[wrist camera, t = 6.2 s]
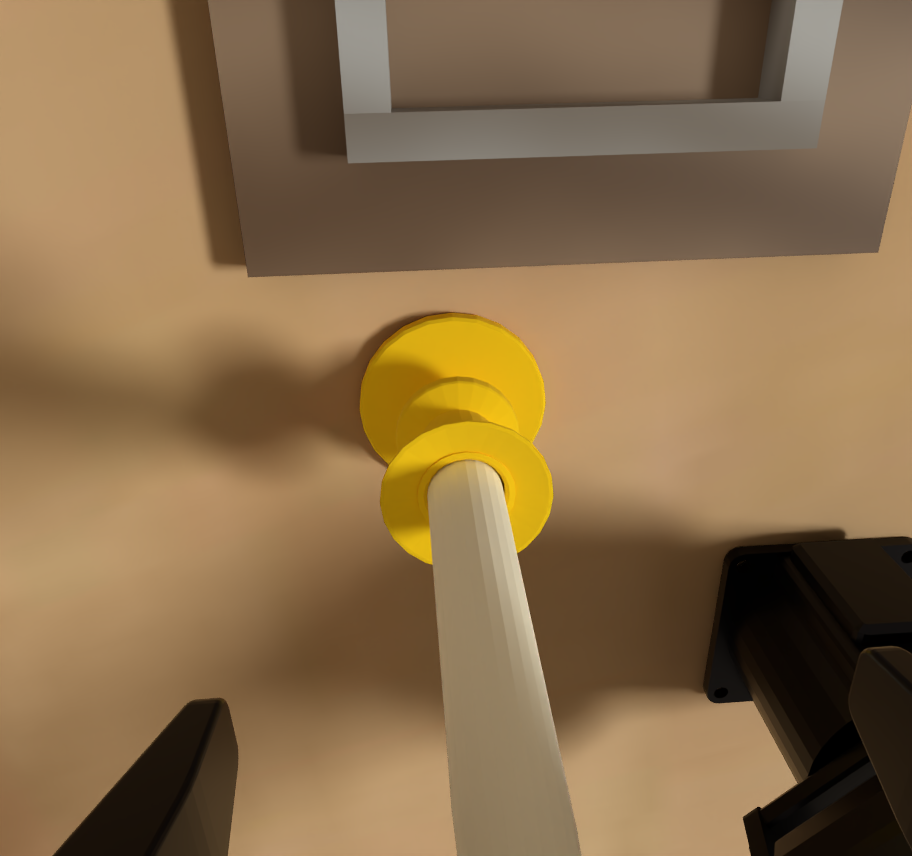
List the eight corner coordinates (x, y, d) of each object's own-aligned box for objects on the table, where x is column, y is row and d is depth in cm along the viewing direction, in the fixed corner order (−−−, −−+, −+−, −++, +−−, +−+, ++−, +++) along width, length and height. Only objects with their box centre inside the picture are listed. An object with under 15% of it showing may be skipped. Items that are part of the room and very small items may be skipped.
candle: (392, 497, 23) (383, 1174, 9) (334, 341, 21) (208, 938, 7) (559, 451, 23) (808, 1082, 9) (519, 288, 21) (772, 802, 7)
